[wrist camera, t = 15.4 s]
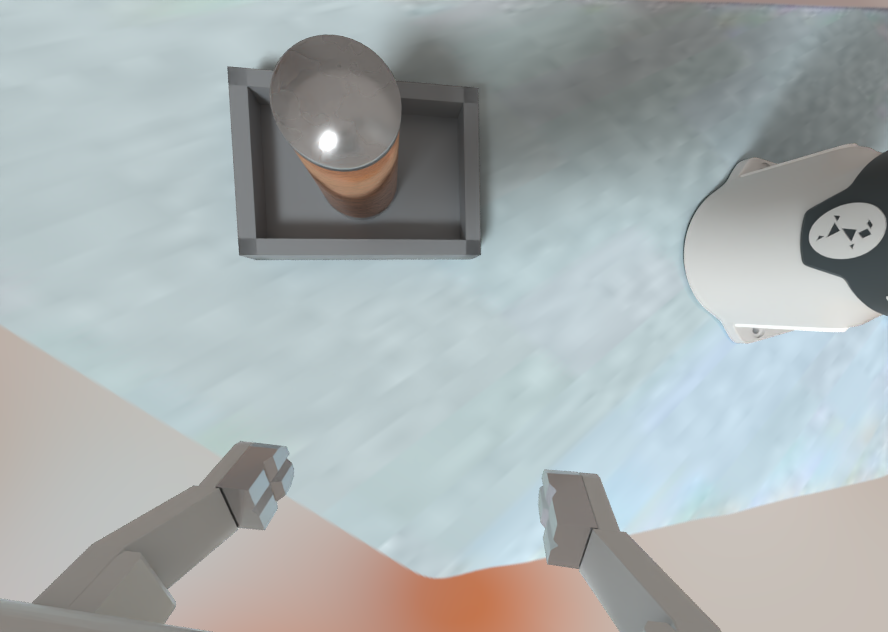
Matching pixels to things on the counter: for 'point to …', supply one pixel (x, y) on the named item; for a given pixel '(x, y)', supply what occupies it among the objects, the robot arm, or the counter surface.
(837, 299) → the robot arm
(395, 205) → the tray
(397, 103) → the tin can
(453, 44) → the counter surface
